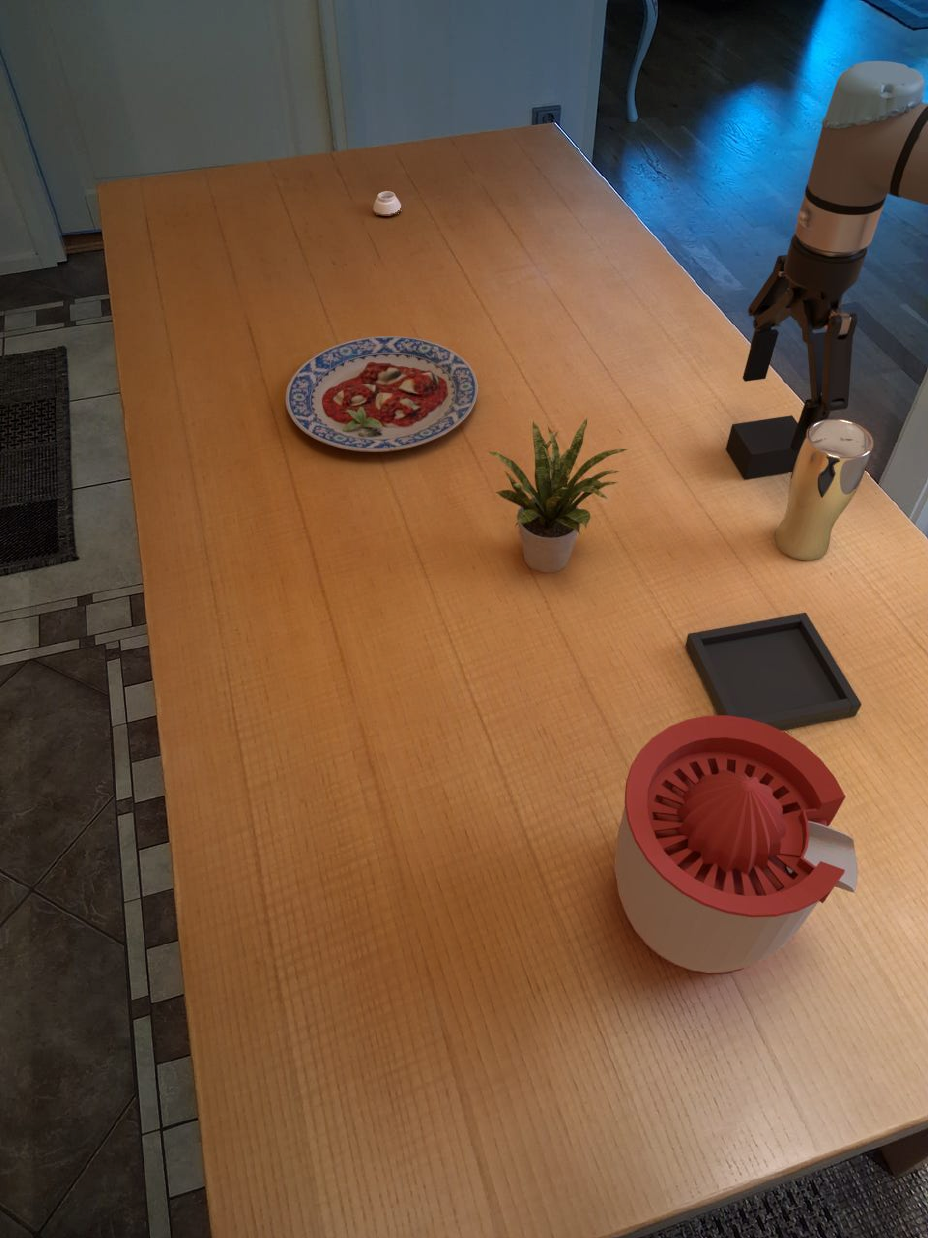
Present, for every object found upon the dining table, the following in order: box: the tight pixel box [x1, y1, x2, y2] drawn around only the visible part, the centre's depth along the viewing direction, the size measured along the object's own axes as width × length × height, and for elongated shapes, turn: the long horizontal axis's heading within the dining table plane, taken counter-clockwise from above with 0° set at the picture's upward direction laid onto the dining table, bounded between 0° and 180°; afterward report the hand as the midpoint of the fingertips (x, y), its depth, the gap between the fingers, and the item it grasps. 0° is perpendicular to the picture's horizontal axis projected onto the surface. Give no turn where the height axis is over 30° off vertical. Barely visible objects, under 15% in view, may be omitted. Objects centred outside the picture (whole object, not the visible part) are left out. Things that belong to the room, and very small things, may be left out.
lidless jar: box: [372, 190, 402, 214], centre depth 157 cm, size 5×3×5 cm
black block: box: [725, 414, 799, 481], centre depth 111 cm, size 8×6×4 cm
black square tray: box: [685, 612, 862, 731], centre depth 90 cm, size 13×12×2 cm
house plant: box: [487, 417, 629, 574], centre depth 96 cm, size 14×14×16 cm
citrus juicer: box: [614, 715, 859, 975], centre depth 68 cm, size 16×17×20 cm
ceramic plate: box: [285, 335, 479, 453], centre depth 121 cm, size 26×26×3 cm
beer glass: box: [773, 417, 874, 562], centre depth 97 cm, size 7×7×15 cm
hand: (777, 411), depth 107 cm, fingers open, 13 cm apart
